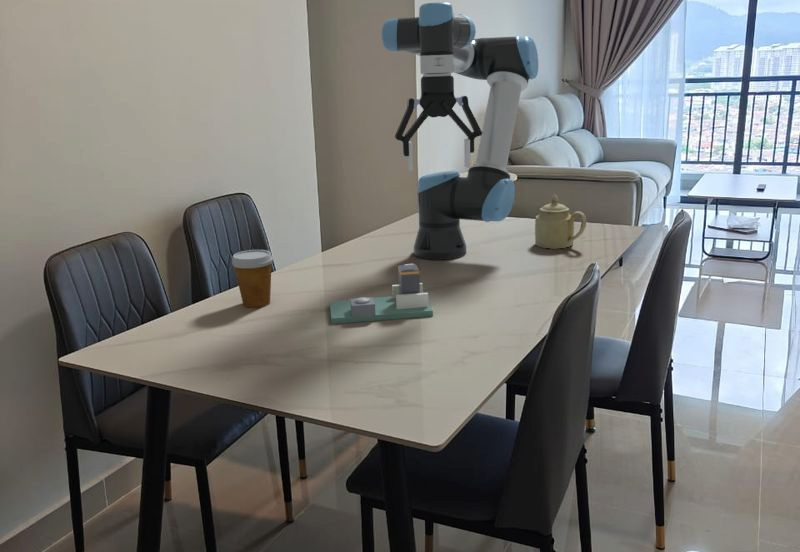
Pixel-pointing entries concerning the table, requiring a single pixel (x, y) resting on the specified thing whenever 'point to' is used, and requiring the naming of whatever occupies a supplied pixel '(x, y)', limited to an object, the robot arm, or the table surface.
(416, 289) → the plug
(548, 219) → the pale yellow ceramic pot
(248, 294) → the disposable coffee cup
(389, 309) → the board
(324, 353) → the table surface
